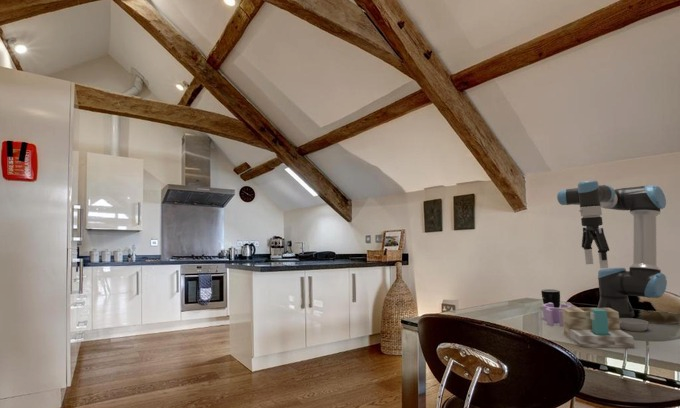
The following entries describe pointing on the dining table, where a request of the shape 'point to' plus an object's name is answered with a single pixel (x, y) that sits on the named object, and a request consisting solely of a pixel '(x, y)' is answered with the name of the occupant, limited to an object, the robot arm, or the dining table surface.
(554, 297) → the mug
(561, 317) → the clip
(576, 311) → the socket block
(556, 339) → the dining table surface
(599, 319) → the plug
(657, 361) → the dining table surface
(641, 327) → the saucepan
